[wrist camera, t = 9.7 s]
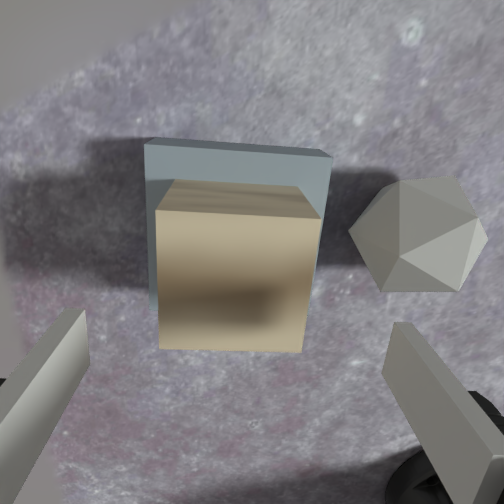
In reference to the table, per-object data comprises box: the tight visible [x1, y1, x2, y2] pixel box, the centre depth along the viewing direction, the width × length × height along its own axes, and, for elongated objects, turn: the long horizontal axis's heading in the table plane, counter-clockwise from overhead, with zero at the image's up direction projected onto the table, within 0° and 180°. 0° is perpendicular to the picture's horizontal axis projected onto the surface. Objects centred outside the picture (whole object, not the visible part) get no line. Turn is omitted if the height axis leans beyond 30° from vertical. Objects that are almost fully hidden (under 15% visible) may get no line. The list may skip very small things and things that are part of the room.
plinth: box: [144, 137, 333, 316], centre depth 28 cm, size 12×12×4 cm
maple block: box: [155, 179, 322, 353], centre depth 23 cm, size 8×8×7 cm
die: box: [348, 176, 488, 292], centre depth 27 cm, size 8×9×10 cm
